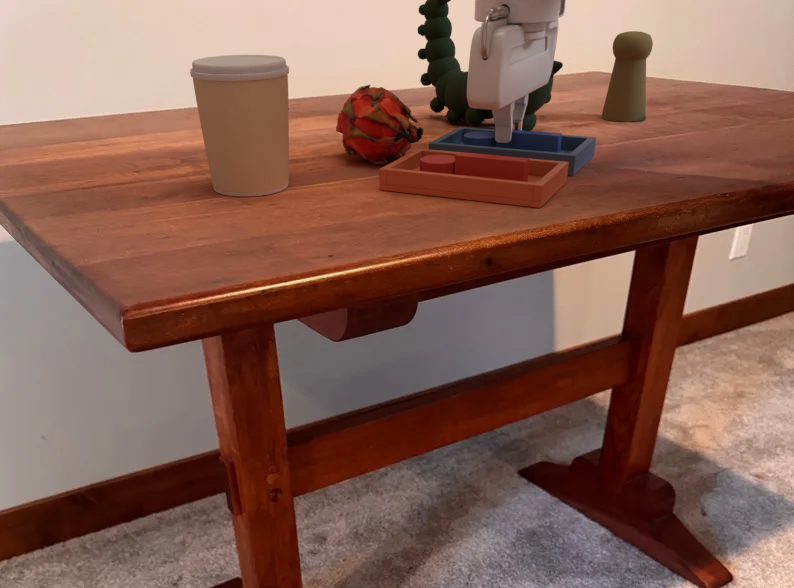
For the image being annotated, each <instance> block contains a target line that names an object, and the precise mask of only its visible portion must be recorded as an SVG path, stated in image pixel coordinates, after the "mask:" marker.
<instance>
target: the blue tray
mask: <svg viewBox="0 0 794 588" xmlns="http://www.w3.org/2000/svg"><path fill="white" fill-rule="evenodd" d="M476 131H484V132H493V133H495V128H494V129H493V128H482V127H468V126H458V127H457V128H455V129H453V130H451V131H449V132H447V133H445V134H444V135H442V136H440V137H437V138H435V139H434V140H432V141H430V142H429V143H428V149H431V150H442V151H453V152H465V153H476V154H487V155H498V156H509V157H520V158H531V159H542V160H553V161H564V162H569V165H568V174H567V176H570V177H571V176H572V177H574V176H575V175H576V174H578V172H579V171H580V170H581V169H582V168H583V167H584V166H585V165H586V164H587V163H588V162H589V161H590V160H591V159H593V157H594V156H595V150H596V143H597V137H596V136H585V135H584V136H583V135H571V134H562V141H561V151H560V153H557V152H545V151H533V150H522V149H510V148H499V147H487V146H475V145H464V144H463V138H464V134H465V133H468V132H476Z"/></svg>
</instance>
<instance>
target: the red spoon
mask: <svg viewBox="0 0 794 588" xmlns="http://www.w3.org/2000/svg"><path fill="white" fill-rule="evenodd" d="M528 170H529V158H520V157H509V156H498V155H487V154H476V153H465V152H460V153H459V154H457V155H455V156H451V155H428V156H424V157H421V158H420V171H424V172H434V173H444V174H454V175H464V176H474V177H484V178H494V179H503V180H513V181H523V182H528Z"/></svg>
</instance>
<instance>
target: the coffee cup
mask: <svg viewBox="0 0 794 588" xmlns="http://www.w3.org/2000/svg"><path fill="white" fill-rule="evenodd" d="M191 62H192V63H191V67H192V68H190V69H189V74H190V77H191V78H192V83H193V89H194V94H195V100H196V106H197V111H198V117H199V123H200V128H201V134H202V139H203V143H204V149H205V154H206V160H207V165H208V171H209V175H210V179H211V184H212V189H213V190H214V192H215V193H218V194H220V195H223V196H229V197H243V198H244V197H261V196H268V195H272V194H277V193H280V192H282V191H284V190H286V189H287V188H288V187H289V184H290V183H289V182H290V181H289V180H290V179H289V178H290V138H289V137H290V135H289V134H290V128H289V127H290V126H289V125H290V124H289V123H290V121H289V75H288V74H290V67H289V66H288V65H287V61H286V59H285V57H283V56H279V55H267V54H229V55H228V54H227V55H216V56H206V57H202V58H196V59H194V60H193V61H191Z"/></svg>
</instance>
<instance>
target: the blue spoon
mask: <svg viewBox="0 0 794 588" xmlns="http://www.w3.org/2000/svg"><path fill="white" fill-rule="evenodd" d="M562 135H563V133H561V132H551V131H550V132H549V131H536V130H531V131H525V130H514V138H513V139H512V140H511V141H510V142H508V143H500V142H497V141H496V140H495V133H493V132H484V131H476V132H468V133H465V134H464V138H463V144H464V145H475V146H487V147H499V148H510V149H522V150H533V151H545V152H557V153H560V151H561V141H562Z"/></svg>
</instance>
